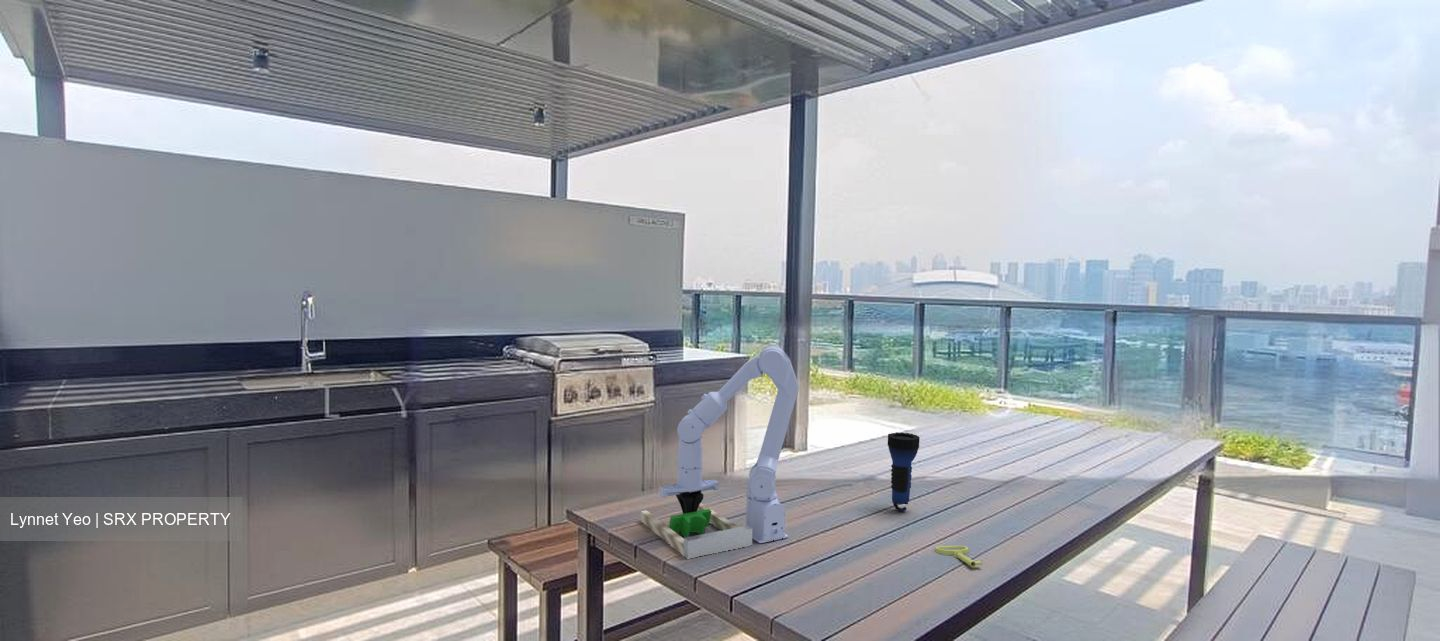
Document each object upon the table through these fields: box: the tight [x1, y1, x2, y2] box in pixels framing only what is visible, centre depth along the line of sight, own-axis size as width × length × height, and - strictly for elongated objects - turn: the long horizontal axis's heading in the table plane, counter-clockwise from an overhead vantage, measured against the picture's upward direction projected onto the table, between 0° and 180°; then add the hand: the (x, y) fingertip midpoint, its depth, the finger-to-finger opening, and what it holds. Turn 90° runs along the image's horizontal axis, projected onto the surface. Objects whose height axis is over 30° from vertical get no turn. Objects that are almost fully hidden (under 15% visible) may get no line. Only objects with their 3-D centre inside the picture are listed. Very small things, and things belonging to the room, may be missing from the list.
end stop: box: [683, 525, 753, 560], centre depth 140 cm, size 2×16×4 cm, turn 119°
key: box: [934, 545, 983, 568], centre depth 139 cm, size 7×12×2 cm, turn 24°
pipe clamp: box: [668, 508, 712, 538], centre depth 150 cm, size 10×4×4 cm, turn 123°
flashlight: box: [887, 432, 921, 512], centre depth 168 cm, size 8×8×20 cm
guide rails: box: [640, 502, 740, 557], centre depth 152 cm, size 24×16×2 cm, turn 29°
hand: (688, 522), depth 153 cm, fingers closed, pressing on pipe clamp
